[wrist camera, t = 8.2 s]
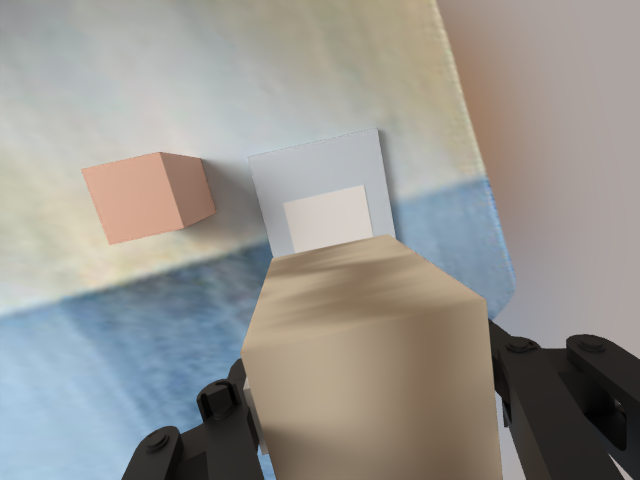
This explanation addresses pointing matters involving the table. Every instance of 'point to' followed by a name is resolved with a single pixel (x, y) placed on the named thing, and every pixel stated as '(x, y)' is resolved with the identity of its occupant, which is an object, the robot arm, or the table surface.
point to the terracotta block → (149, 195)
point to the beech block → (372, 368)
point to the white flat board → (323, 193)
